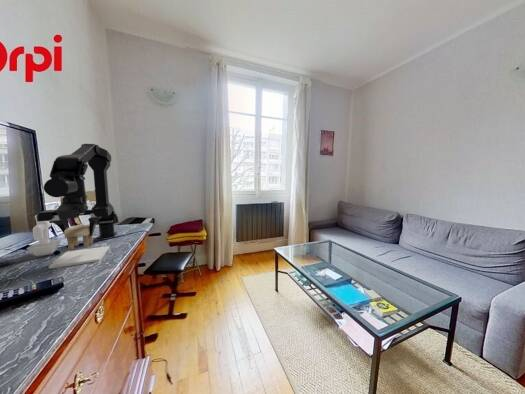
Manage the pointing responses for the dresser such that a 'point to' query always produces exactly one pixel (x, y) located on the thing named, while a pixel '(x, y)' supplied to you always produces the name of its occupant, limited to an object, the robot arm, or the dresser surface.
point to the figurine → (43, 239)
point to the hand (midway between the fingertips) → (80, 236)
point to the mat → (80, 257)
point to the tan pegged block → (77, 231)
